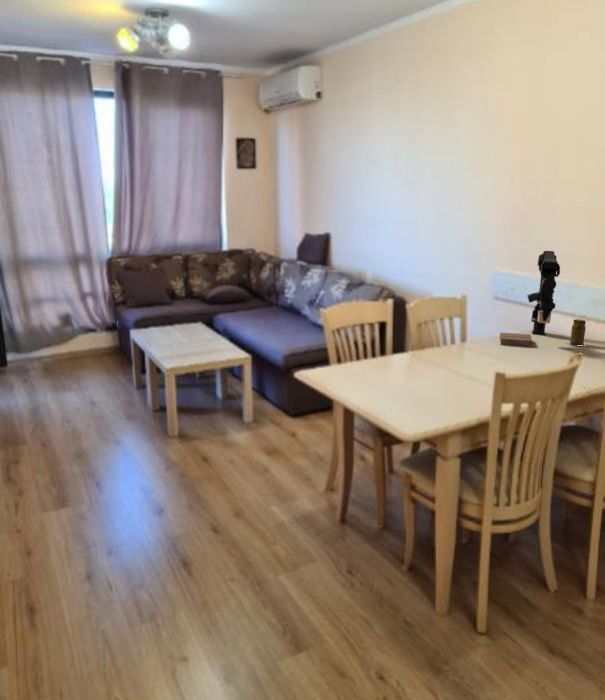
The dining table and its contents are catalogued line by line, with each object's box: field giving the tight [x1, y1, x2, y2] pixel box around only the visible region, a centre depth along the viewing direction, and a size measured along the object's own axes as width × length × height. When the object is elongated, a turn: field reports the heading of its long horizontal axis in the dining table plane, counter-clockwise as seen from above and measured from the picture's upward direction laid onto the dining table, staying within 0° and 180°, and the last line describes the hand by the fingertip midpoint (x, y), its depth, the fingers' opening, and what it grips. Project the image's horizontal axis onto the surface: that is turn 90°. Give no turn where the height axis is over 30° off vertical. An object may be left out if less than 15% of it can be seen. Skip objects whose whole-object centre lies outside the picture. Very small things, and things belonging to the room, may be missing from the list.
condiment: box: [569, 318, 587, 348], centre depth 290 cm, size 7×8×12 cm
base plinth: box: [499, 332, 533, 348], centre depth 294 cm, size 14×14×3 cm
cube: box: [537, 311, 552, 324], centre depth 289 cm, size 5×5×5 cm
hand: (543, 319), depth 289 cm, fingers closed on cube, 5 cm apart
